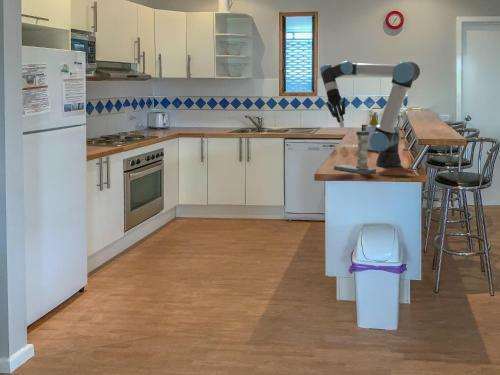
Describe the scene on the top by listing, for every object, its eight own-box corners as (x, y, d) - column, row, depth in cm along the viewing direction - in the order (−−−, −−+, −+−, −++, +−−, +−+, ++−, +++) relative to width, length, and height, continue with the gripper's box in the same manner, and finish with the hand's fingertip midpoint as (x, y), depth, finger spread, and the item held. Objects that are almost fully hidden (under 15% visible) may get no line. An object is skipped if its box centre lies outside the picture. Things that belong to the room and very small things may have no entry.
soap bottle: (370, 148, 526) (371, 114, 522) (381, 149, 521) (382, 115, 517) (364, 150, 520) (365, 115, 515) (375, 151, 514) (376, 115, 510)
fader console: (333, 169, 427) (333, 165, 427) (344, 167, 433) (344, 164, 432) (364, 174, 407) (364, 170, 406) (375, 172, 412) (376, 168, 411)
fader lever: (355, 168, 415) (356, 131, 411) (362, 167, 418) (362, 131, 414) (362, 169, 411) (362, 132, 407) (368, 168, 414) (368, 131, 410)
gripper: (339, 89, 441) (349, 126, 440) (320, 93, 438) (330, 130, 436) (343, 86, 434) (354, 123, 432) (324, 90, 431) (334, 127, 429)
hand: (342, 127), depth 434 cm, fingers closed
